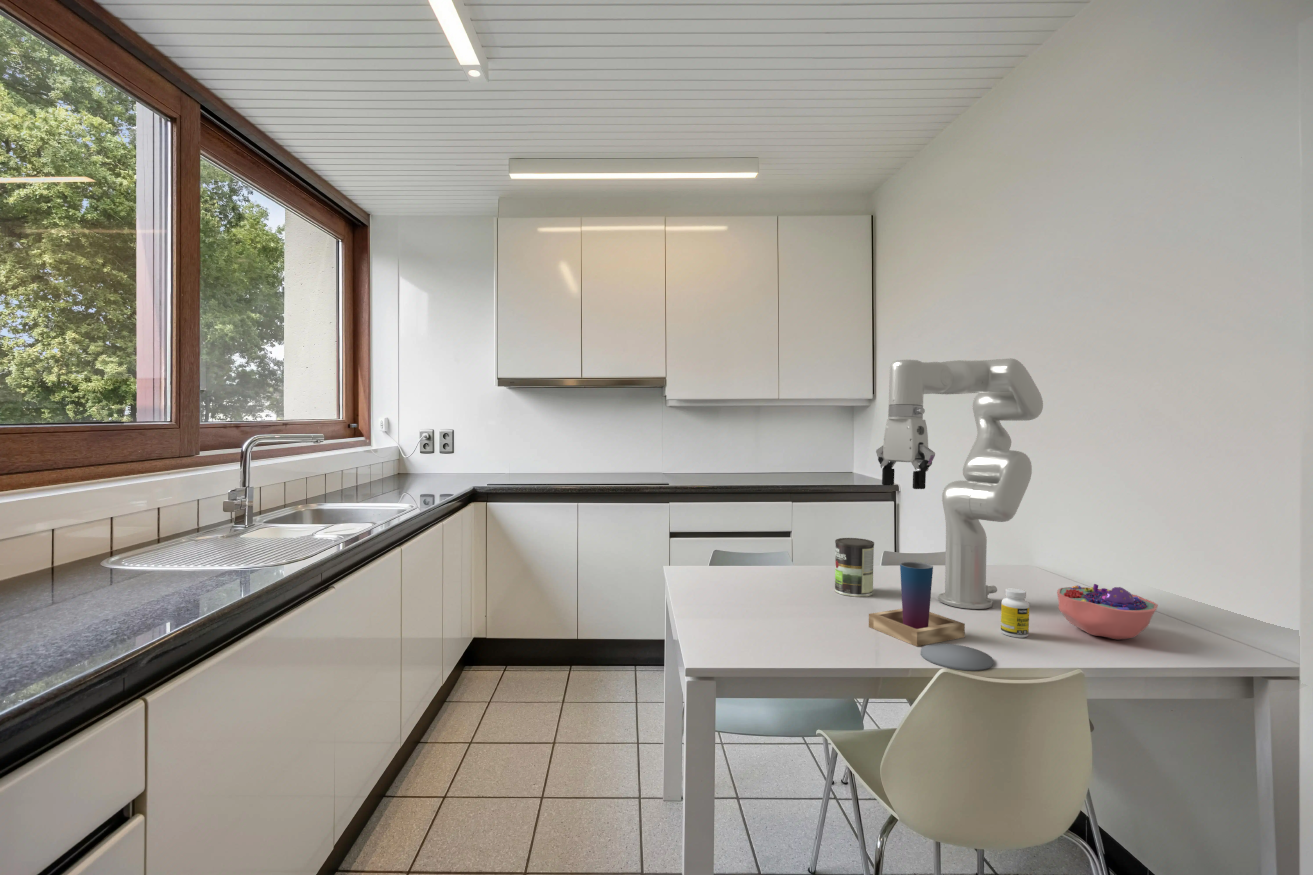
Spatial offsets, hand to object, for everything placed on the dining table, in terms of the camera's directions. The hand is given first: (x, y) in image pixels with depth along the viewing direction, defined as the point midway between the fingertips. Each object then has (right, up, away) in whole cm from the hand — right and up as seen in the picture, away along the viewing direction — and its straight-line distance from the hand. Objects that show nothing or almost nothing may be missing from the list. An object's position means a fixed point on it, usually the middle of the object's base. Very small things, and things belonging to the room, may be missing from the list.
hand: (902, 487), depth 149 cm
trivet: (+2, -32, -22) cm, 39 cm away
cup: (0, -32, -6) cm, 33 cm away
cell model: (+41, -32, -7) cm, 53 cm away
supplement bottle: (+22, -32, -8) cm, 40 cm away
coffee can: (-3, -31, +27) cm, 42 cm away
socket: (0, -32, -6) cm, 32 cm away
